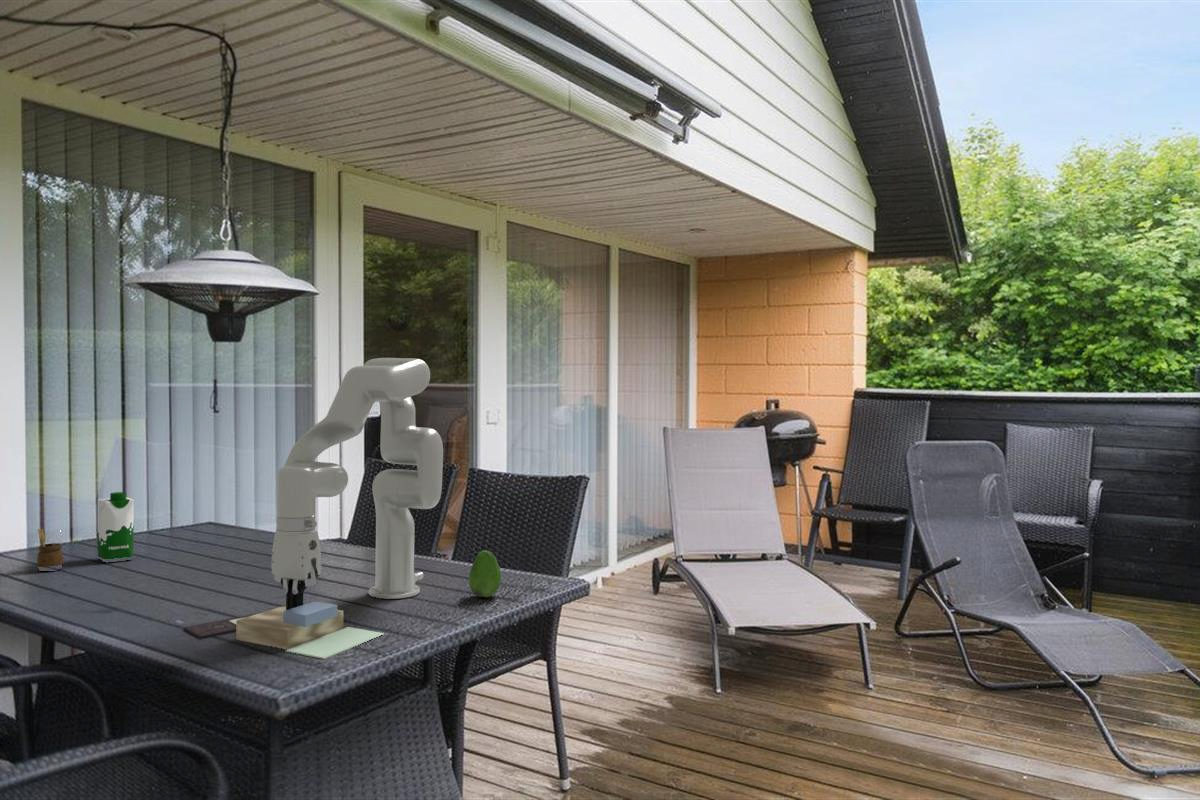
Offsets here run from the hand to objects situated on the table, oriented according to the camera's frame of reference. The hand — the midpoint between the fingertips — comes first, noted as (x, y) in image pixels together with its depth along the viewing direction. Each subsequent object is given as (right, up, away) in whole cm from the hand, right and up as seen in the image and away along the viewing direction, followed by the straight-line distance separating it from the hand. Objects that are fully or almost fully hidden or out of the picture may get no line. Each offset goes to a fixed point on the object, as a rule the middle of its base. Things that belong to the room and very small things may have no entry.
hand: (294, 611), depth 176 cm
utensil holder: (-87, -3, +54) cm, 103 cm away
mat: (+10, -5, -5) cm, 13 cm away
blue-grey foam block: (+4, -1, -2) cm, 5 cm away
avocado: (+35, -6, +35) cm, 50 cm away
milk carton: (-78, -3, +68) cm, 104 cm away
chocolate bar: (-15, -5, +6) cm, 17 cm away
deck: (-1, -5, +1) cm, 5 cm away
